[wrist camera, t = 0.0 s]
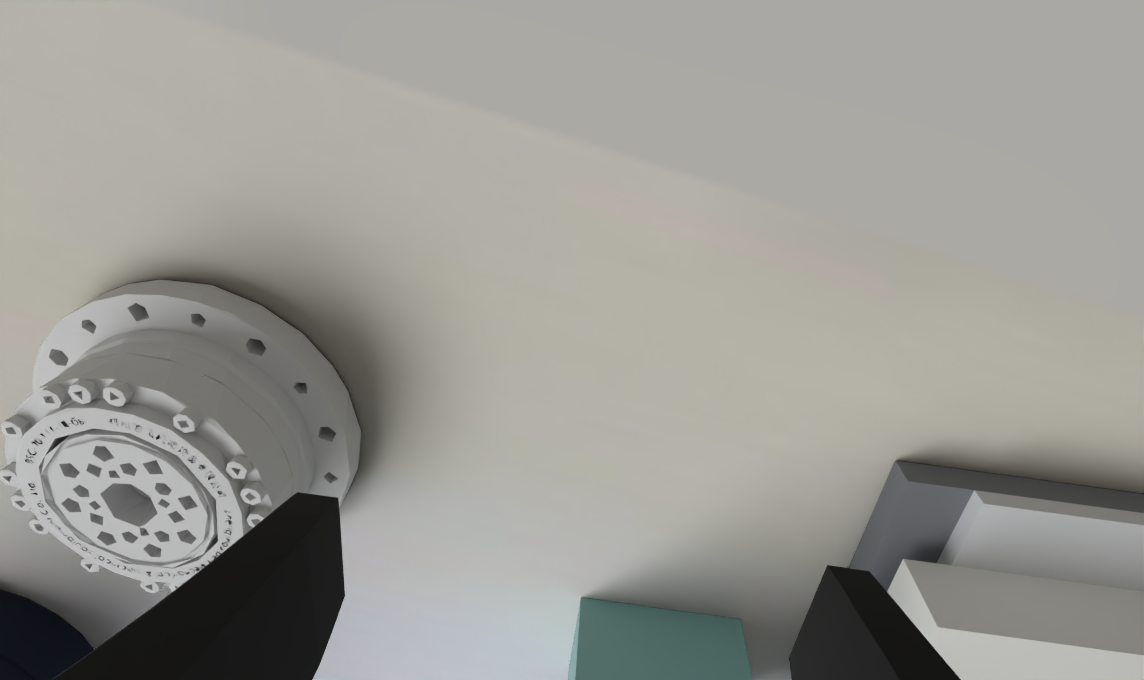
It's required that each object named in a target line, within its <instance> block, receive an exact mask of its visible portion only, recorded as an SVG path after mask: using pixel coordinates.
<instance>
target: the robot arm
mask: <svg viewBox="0 0 1144 680" xmlns="http://www.w3.org/2000/svg"><path fill="white" fill-rule="evenodd" d="M344 597H345V591H344V576H343V560H342V545H341V529H340V514H339V498H337V497H329V496H322V495H315V494H308V493H300V492H297V493H296V494H294V495H293V496H291V497H290V498H289V499H288V500H286V501H285V502H284V503H283V504H281V505H280V506H279V507H278V508H276V509H275V510H274V511H273V512H271V513H270V514H269V515H268V516H267V517H265V518H264V519H263V520H262V521H261V522H259V523H258V524H257V525H256V526H254V527H253V528H252V529H251V530H250V531H248V532H247V533H246V534H245V535H244V536H242V537H241V538H240V539H239V540H237V541H236V542H235V543H234V544H232V545H231V546H230V547H229V548H228V549H226V550H225V551H224V552H223V553H221V554H220V555H219V556H218V557H216V558H215V559H214V560H213V561H211V562H210V563H209V564H208V565H206V566H205V567H204V568H203V569H201V570H200V571H199V572H197V573H196V574H195V575H194V576H192V577H191V578H190V579H188V580H187V581H186V582H185V583H183V584H182V585H181V586H180V587H178V588H177V589H176V590H174V591H173V592H172V593H171V594H169V595H168V596H167V597H165V598H164V599H163V600H162V601H160V602H159V603H158V604H156V605H155V606H154V607H152V608H151V609H150V610H148V611H147V612H146V613H144V614H143V615H142V616H140V617H139V618H137V619H136V620H135V621H133V622H132V623H131V624H129V625H128V626H126V627H125V628H124V629H122V630H121V631H120V632H118V633H117V634H115V635H114V636H113V637H111V638H110V639H108V640H107V641H106V642H104V643H103V644H102V645H100V646H99V647H97V648H96V649H95V650H93V651H92V652H90V653H89V654H88V655H86V656H85V657H84V658H82V659H81V660H79V661H78V662H76V663H75V664H74V665H72V666H71V667H69V668H68V669H66V670H65V671H63V672H62V673H60V674H59V675H57V676H56V677H55V678H53V679H52V680H312V679H313V677H314V675H315V673H316V671H317V669H318V667H319V665H320V662H321V659H322V657H323V654H324V651H325V649H326V646H327V643H328V641H329V638H330V636H331V633H332V630H333V627H334V625H335V622H336V619H337V616H338V613H339V611H340V608H341V605H342V602H343V599H344ZM789 661H790V669H791V676H792V680H961V679H960V678H959V677H958V676H957V675H956V673H955V672H954V671H953V670H952V669H951V668H950V666H949V665H948V664H947V663H946V662H945V660H944V659H943V658H942V657H941V656H940V655H939V653H938V652H937V651H936V650H935V649H934V647H933V646H932V645H931V644H930V643H929V641H928V640H927V639H926V638H925V637H924V635H923V634H922V633H921V632H920V631H919V629H918V628H917V627H916V626H915V625H914V623H913V622H912V621H911V620H910V619H909V617H908V616H907V615H906V614H905V613H904V611H903V610H902V609H901V608H900V607H899V605H898V604H897V603H896V602H895V601H894V599H893V598H892V597H891V596H890V595H889V594H888V592H887V591H886V590H885V589H884V588H883V586H882V585H881V584H880V583H879V582H878V581H877V580H876V578H875V577H874V576H873V575H872V574H871V573H870V572H869V571H865V570H858V569H850V568H843V567H836V566H829V565H827V567H826V570H825V572H824V575H823V577H822V579H821V582H820V584H819V587H818V589H817V591H816V594H815V596H814V599H813V601H812V604H811V606H810V608H809V611H808V613H807V616H806V618H805V620H804V623H803V625H802V628H801V630H800V632H799V635H798V637H797V640H796V642H795V644H794V647H793V649H792V652H791V654H790V657H789Z"/></svg>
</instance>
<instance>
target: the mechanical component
mask: <svg viewBox="0 0 1144 680" xmlns="http://www.w3.org/2000/svg"><path fill="white" fill-rule="evenodd" d="M0 425H1V430H2V433H4V434H5V435H6V436H5V446H4V451H5V455H6V459H7V463H8V466H6V467H5V468H4V469H2V470H1V471H0V479H1V481H2V482H4V483H5V484H6V485H9V486H16V488H17V490H18V491H16V492H15V493H14V494H13V495H12V496H11V497H10V498H11V502H12V506H14V507H16V508H17V509H19V510H21V511H29V510H31V511H32V512H33V513H34V515H35V516H34V517H33V518H32V519H31V520H30V521H29V525H30V528H31V530H33V531H35V532H37V533H38V534H47V533H48V532H50V533H51V534H53V535H54V536H55V537H56V538H57V539H58V540H59V541H61V542H62V543H64V544H65V545H66V546H68V547H69V548H71V549H72V550H73V551H75V552H76V553H78V554H79V555H80V556H82V557H83V559H82V560H81V566H82V567H83V568H85V569H86V570H87V571H88V572H97V571H100V570H101V569H102V568H103V567H104V568H106V569H108V570H110V571H112V572H114V573H117V574H120V575H123V576H127V577H130V578H133V579H136V580H139V581H142V582H141V584H140V586H141V587H142V588H143V589H144V590H145V591H146V592H150V593H156V592H157V591H159V590H160V589H161V588H162V587H163V586H169V588H170V590H171V592H173V591H174V590H176V589H177V588H178V587H180V586H181V585H182V584H183V583H185V582H186V581H187V580H188V579H190V578H191V577H192V576H194V575H195V574H196V573H197V572H199V571H200V570H201V569H203V568H204V567H205V566H206V565H208V564H209V563H210V562H211V561H213V560H214V559H215V558H216V557H218V556H219V555H220V554H221V553H223V552H224V551H225V550H226V549H228V548H229V547H230V546H231V545H232V544H234V543H235V542H236V541H237V540H239V539H240V538H241V537H242V536H244V535H245V534H246V533H247V532H248V531H250V530H251V529H252V528H253V527H254V526H256V525H257V524H258V523H259V522H261V521H262V520H263V519H264V518H265V517H267V516H268V515H269V514H270V513H271V512H273V511H274V510H275V509H276V508H278V507H279V506H280V505H281V504H283V503H284V502H285V501H286V500H288V499H289V498H290V497H291V496H293V495H294V494H296V493H297V492H300V493H308V494H315V495H322V496H329V497H337V498H339V508H340V506H341V504H342V502H343V500H344V498H345V496H346V494H347V492H348V490H349V488H350V486H351V483H352V481H353V479H354V476H355V474H356V472H357V470H358V465H359V454H360V442H361V430H360V427H359V423H358V420H357V417H356V414H355V411H354V408H353V405H352V402H351V399H350V396H349V393H348V390H347V389H346V387H345V385H344V384H343V382H342V381H341V379H340V377H339V376H338V374H337V372H336V371H335V369H334V367H333V366H332V365H331V364H330V363H329V362H328V360H327V359H326V358H325V357H324V356H323V355H322V354H321V353H320V352H319V351H318V350H317V348H316V347H315V346H314V345H313V344H312V343H311V342H310V341H309V340H308V339H307V337H306V336H305V335H304V334H303V333H301V332H300V331H298V330H297V329H295V328H294V327H292V326H291V325H289V324H288V323H286V322H285V321H283V320H282V319H280V318H279V317H278V316H276V315H275V314H273V313H272V312H270V311H269V310H267V309H266V308H264V307H263V306H261V305H259V304H257V303H254V302H252V301H250V300H247V299H245V298H242V297H240V296H237V295H235V294H232V293H230V292H228V291H225V290H223V289H220V288H218V287H215V286H213V285H207V284H198V283H188V282H179V281H169V280H154V281H147V282H140V283H133V284H127V285H124V286H122V287H119V288H117V289H114V290H112V291H109V292H107V293H104V294H102V295H100V296H98V297H97V298H95V299H93V300H92V301H90V302H88V303H87V304H85V305H83V306H82V307H80V308H78V309H77V310H75V311H73V312H72V313H70V314H68V315H67V316H65V317H63V318H62V319H61V320H60V321H59V322H58V323H57V325H56V326H55V327H54V328H53V330H52V331H51V332H50V334H49V335H48V336H47V338H46V339H45V340H44V342H43V343H42V344H41V347H40V350H39V353H38V356H37V359H36V362H35V365H34V368H33V393H32V394H31V395H30V396H29V397H28V398H27V399H26V400H25V401H24V402H23V403H21V404H20V405H19V406H18V407H17V408H16V409H15V411H14V413H13V416H12V417H10V418H9V419H7V420H6V421H4V422H3V423H2V424H0Z"/></svg>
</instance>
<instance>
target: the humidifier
mask: <svg viewBox="0 0 1144 680" xmlns="http://www.w3.org/2000/svg"><path fill="white" fill-rule="evenodd" d="M93 650H94V649H93V648H92V647H91V646H90V644H89V643H88V642H87V640H86V639H85V638H84V637H83V635H82V634H81V633H79V632H78V631H77V630H76V629H74V628H73V627H72V626H71V625H70V624H68V623H67V622H66V621H65V620H63V619H62V618H61V617H60V616H58V615H57V614H55V613H53V612H51V611H49V610H48V609H46V608H44V607H42V606H40V605H38V604H36V603H35V602H33V601H31V600H29V599H26V598H24V597H21V596H18V595H15V594H12V593H9V592H6V591H3V590H0V680H52V679H53V678H55V677H56V676H57V675H59V674H60V673H62V672H63V671H65V670H66V669H68V668H69V667H71V666H72V665H74V664H75V663H76V662H78V661H79V660H81V659H82V658H84V657H85V656H86V655H88V654H89V653H90V652H92V651H93Z"/></svg>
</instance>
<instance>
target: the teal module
mask: <svg viewBox="0 0 1144 680" xmlns="http://www.w3.org/2000/svg"><path fill="white" fill-rule="evenodd" d="M568 680H752V675H751V670H750V665H749V660H748V654H747V649H746V644H745V639H744V634H743V628H742V623H741V619H734V618H727V617H719V616H712V615H705V614H697V613H690V612H683V611H676V610H668V609H661V608H654V607H646V606H639V605H632V604H625V603H617V602H610V601H603V600H595V599H588V598H581V600H580V606H579V612H578V618H577V623H576V629H575V635H574V641H573V646H572V652H571V658H570V664H569V672H568Z"/></svg>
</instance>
